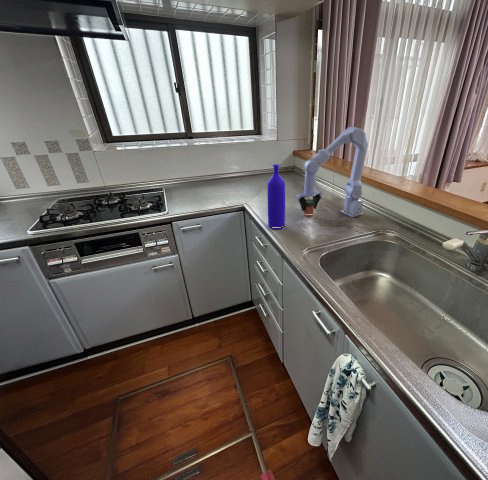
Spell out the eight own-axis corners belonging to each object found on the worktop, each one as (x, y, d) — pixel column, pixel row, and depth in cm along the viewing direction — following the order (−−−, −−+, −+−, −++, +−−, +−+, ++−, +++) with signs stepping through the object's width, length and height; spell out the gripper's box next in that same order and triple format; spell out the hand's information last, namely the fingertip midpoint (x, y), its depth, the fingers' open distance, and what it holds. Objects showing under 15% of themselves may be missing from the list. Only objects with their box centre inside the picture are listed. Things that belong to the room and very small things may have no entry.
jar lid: (310, 201, 144) (310, 198, 143) (316, 204, 140) (317, 201, 139) (301, 203, 141) (301, 200, 140) (307, 207, 137) (308, 203, 136)
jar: (315, 215, 143) (316, 202, 140) (308, 217, 140) (308, 204, 137) (308, 212, 147) (309, 199, 143) (301, 214, 144) (302, 201, 140)
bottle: (275, 221, 136) (275, 161, 122) (288, 226, 132) (289, 164, 117) (264, 226, 131) (262, 165, 116) (277, 231, 126) (276, 168, 111)
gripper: (302, 188, 129) (301, 214, 136) (326, 184, 135) (324, 209, 142) (294, 184, 135) (294, 209, 141) (318, 181, 141) (316, 205, 147)
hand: (308, 209), depth 142 cm, fingers open, 7 cm apart
